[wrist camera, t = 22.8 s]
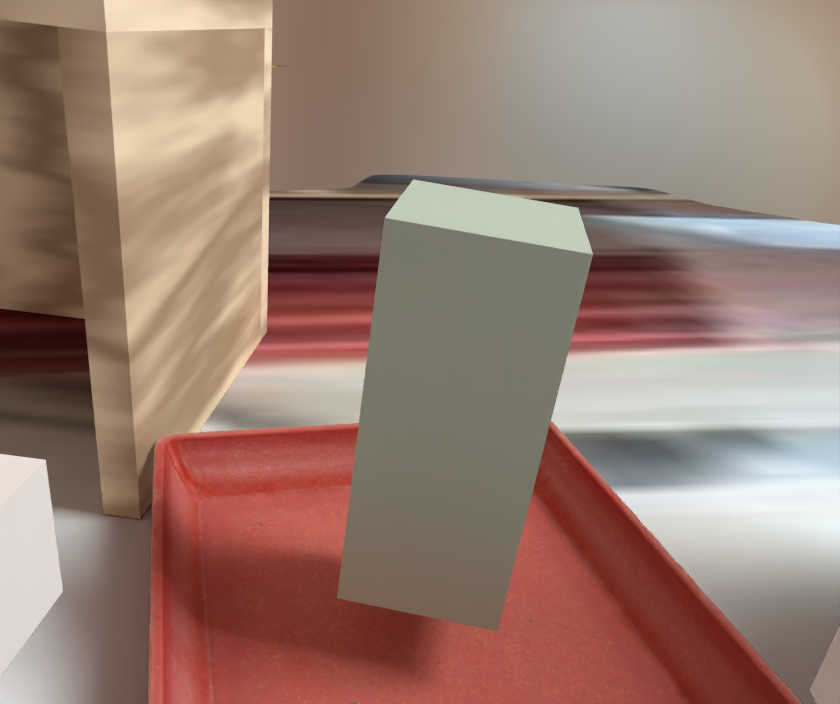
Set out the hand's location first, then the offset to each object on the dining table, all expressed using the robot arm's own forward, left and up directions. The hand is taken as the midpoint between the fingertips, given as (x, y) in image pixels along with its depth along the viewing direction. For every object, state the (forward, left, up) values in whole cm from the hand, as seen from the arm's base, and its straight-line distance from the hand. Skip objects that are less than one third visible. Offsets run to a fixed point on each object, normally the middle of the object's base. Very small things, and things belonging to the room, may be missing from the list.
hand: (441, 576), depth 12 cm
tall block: (0, -10, -8) cm, 13 cm away
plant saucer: (0, -11, -12) cm, 16 cm away
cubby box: (+24, -23, -11) cm, 35 cm away
